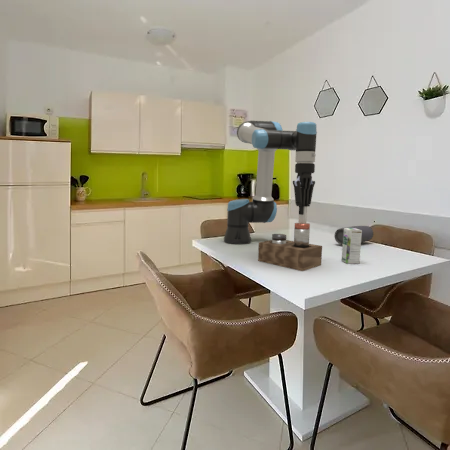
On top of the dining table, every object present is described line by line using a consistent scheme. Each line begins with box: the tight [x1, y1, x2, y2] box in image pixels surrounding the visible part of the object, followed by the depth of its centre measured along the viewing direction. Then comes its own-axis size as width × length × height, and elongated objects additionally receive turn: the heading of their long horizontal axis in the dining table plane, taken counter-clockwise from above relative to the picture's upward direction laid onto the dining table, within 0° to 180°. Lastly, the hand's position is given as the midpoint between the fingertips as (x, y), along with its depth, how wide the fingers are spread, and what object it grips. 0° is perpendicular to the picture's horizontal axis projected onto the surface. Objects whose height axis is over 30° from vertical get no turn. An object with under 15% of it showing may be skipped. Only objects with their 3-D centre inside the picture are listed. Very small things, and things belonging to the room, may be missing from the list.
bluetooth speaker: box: [333, 225, 374, 245], centre depth 188 cm, size 23×9×10 cm, turn 123°
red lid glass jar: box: [293, 222, 311, 248], centre depth 139 cm, size 6×6×10 cm
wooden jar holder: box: [257, 239, 323, 272], centre depth 144 cm, size 22×14×8 cm, turn 45°
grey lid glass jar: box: [271, 233, 287, 244], centre depth 148 cm, size 6×6×10 cm
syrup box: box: [341, 227, 362, 265], centre depth 147 cm, size 6×6×14 cm
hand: (302, 222), depth 139 cm, fingers closed
